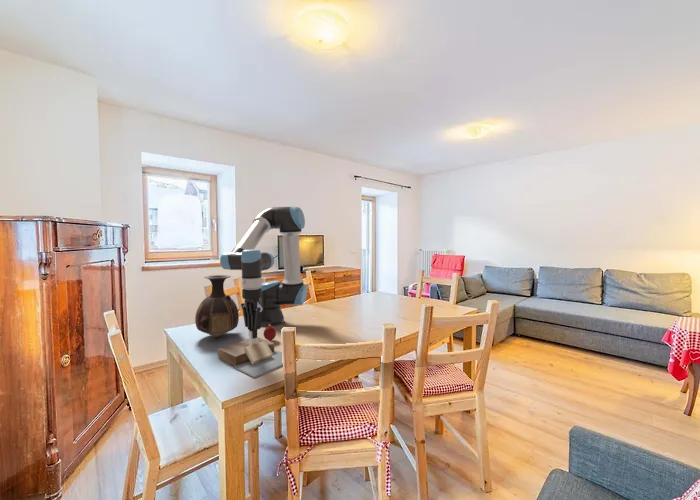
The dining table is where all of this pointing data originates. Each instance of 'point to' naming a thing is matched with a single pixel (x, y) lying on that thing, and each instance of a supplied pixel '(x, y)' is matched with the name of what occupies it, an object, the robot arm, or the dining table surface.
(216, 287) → the vase
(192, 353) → the dining table surface
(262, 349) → the tile
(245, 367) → the mat
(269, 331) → the onion
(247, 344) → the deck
